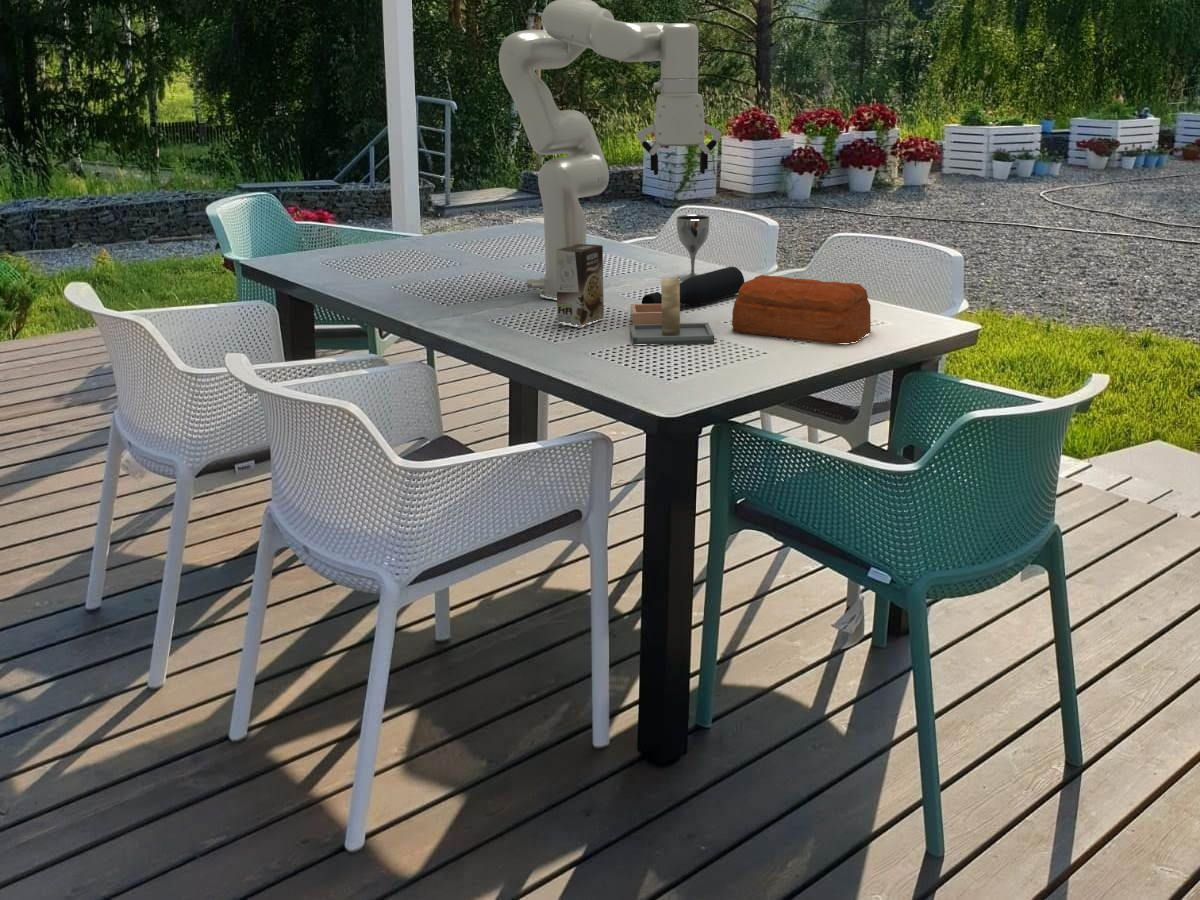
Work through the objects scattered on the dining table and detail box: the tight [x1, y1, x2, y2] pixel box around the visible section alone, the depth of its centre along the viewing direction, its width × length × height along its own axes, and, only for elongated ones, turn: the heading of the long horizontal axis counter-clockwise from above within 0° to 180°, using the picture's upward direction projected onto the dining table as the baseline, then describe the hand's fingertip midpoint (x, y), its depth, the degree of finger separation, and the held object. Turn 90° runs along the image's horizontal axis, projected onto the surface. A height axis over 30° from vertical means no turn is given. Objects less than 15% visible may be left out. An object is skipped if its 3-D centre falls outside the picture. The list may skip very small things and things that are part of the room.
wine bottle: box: [641, 266, 745, 306], centre depth 275 cm, size 6×6×30 cm
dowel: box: [660, 277, 681, 336], centre depth 246 cm, size 4×4×11 cm
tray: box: [629, 322, 715, 346], centre depth 248 cm, size 16×11×2 cm
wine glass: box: [676, 214, 710, 282], centre depth 302 cm, size 8×8×15 cm
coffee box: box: [556, 243, 605, 325], centre depth 260 cm, size 9×6×16 cm
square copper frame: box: [630, 303, 662, 325], centre depth 260 cm, size 9×9×3 cm
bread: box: [731, 274, 872, 344], centre depth 250 cm, size 16×27×11 cm, turn 59°
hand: (679, 173), depth 255 cm, fingers open, 9 cm apart
